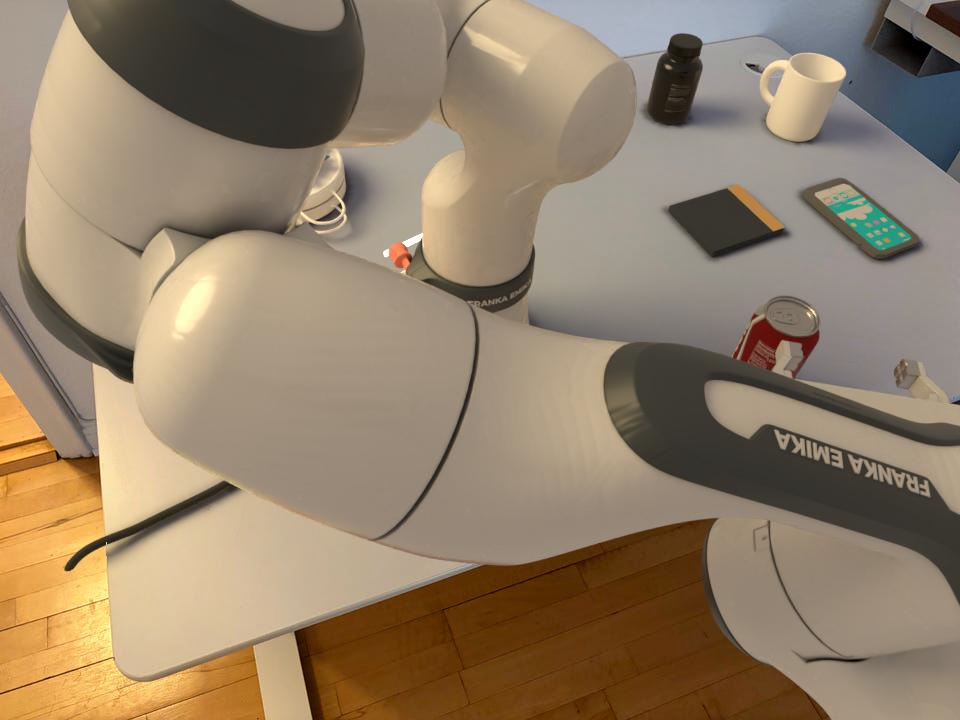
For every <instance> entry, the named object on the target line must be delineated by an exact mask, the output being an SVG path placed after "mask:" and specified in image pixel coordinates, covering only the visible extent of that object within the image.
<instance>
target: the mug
mask: <svg viewBox="0 0 960 720" xmlns="http://www.w3.org/2000/svg"><path fill="white" fill-rule="evenodd" d="M776 71H783V75H782V77H781V79H780V82H779V85H778V87H777V89H776V92H775V94H774V95H773V94H772V93H771V91H770V89H769V83H770V78H771V76H772V75H773V74H774V73H775V72H776ZM846 76H847V70H846V68H845V66H843V64H842V63H841V62H839V61H837V60H836V59H835V58H832V57H830V56H828V55H824V54H821V53H817V52H816V53H814V52H801V53H796V54H794V55H792V56H791V57H790V58H789V60H788V59H778V60H775V61H773V62H771V63H770V64H768V65H767V66H766V68H765V69H764V70H763V72H762V73H761V76H760V80H759V93H760V96H761V98H762V100H763V102H765V103H766V104H767V105H768V106H769V110H768V112H767V114H766V118H765V124H766V127H767V128H768V130H769V131H770V132H771V133H772V134H773V135H775V136H776V137H778V138H780V139H782V140H784V141H789V142H795V143H796V142H799V143H801V142H807V141H811V140H812V139H814V138H815V137H816V136H817V135H818V134H819V132H820V130H821V129H822V126H823V124H824V122H825V120H826V118H827V117H828V114H829V111H830V109H831V108H832V105H833V103H834V101H835V99H836V97H837V95H838V93H839V91H840V89H841V87H842V85H843V82H844V80H845V78H846Z"/></svg>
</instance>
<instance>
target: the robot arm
mask: <svg viewBox="0 0 960 720" xmlns="http://www.w3.org/2000/svg"><path fill="white" fill-rule="evenodd" d="M66 2H67V6H68V9H67V12H66V14H65V16H64V19H63V20H62V23H61V25H60V28H59V30H58V33H57V36H56V39H55V42H54V44H53V46H52V49H51V51H50V54H49V57H48V60H47V64H46V67H45V70H44V73H43V77H42V80H41V83H40V86H39V88H38V94H37V97H36V102H35V106H34V110H33V115H32V118H31V124H30V129H29V138H30V139H29V141H30V147H31V151H30V155H29V163H28V171H27V179H26V189H25V190H26V193H25V215H24V217H23V219H22V221H21V223H20V225H19V227H18V232H17V237H16V257H17V270H18V276H19V281H20V285H21V288H22V292H23V295H24V297H25V301H26V303H27V305H28V307H29V309H30V310H31V312H32V314H33V315H34V316H35V318H36V320H37V321H38V322H39V323H40V324H41V325H42V327H43V328H44V329H45V330H46V331H47V332H48V333H49V334H50V335H52V337H54V338H55V339H56V340H57V341H58V342H59V343H61V344H62V345H63V346H65V347H66V348H67V349H69V350H70V351H71V352H73V353H75V354H76V355H78V356H79V357H81V358H83V359H85V360H86V361H88V362H90V363H91V364H94V365H96V366H98V367H101V368H103V369H106V370H108V371H109V372H110V374H112V375H113V376H114V377H116V378H118V379H119V380H120V381H123V382H125V383H128V384H133V388H134V395H135V402H136V404H137V405H136V406H137V408H138V411H139V414H140V416H141V418H142V420H143V422H144V424H145V425H146V427H147V428H148V430H149V431H150V433H151V434H152V435H153V436H154V437H155V438H156V439H157V440H158V441H159V442H160V443H161V444H162V445H163V446H164V447H166V448H167V449H168V450H170V451H172V452H173V453H175V454H176V455H178V456H180V457H181V458H183V459H185V460H187V461H189V462H190V463H192V464H193V465H195V466H197V467H198V468H201V470H204V471H206V472H207V473H209V474H211V475H213V476H215V477H217V478H218V479H221V480H222V481H220V482H218V483H217V484H215V485H213V486H211V487H209V488H206V489H204V490H203V491H201V492H199V493H197V494H195V495H193V496H191V497H188V498H187V499H185V500H183V501H181V502H179V503H176V504H174V505H172V506H170V507H168V508H166V509H164V510H161V511H160V512H158V513H156V514H153V515H152V516H149V517H147V518H146V519H144V520H141V521H139V522H137V523H134V524H133V525H131V526H128V527H126V528H123V529H121V530H118V531H115V532H112V533H110V534H107V535H104V536H102V537H100V538H98V539H95V540H94V541H91V542H89V543H88V544H86V545H84V546H83V547H82V548H81V549H79V550H77V551H76V552H75V553H74V554H73V555H72V556H71V557H70V558H69V560H68V561H67V562H66V563H65V565H64V567H63V570H64V572H71V571H73V570H74V569H75V568H76V567H77V566H78V564H79V563H80V562H81V561H82V560H83V559H85V557H87V556H89V555H90V554H92V553H93V552H95V551H97V550H99V549H101V548H103V547H105V546H108V545H111V544H113V543H116V542H119V541H121V540H123V539H126V538H129V537H131V536H134V535H136V534H138V533H140V532H142V531H144V530H146V529H148V528H150V527H152V526H155V525H157V524H158V523H160V522H162V521H165V520H166V519H168V518H170V517H173V516H174V515H177V514H179V513H181V512H183V511H185V510H187V509H190V508H191V507H193V506H196V505H197V504H199V503H201V502H203V501H206V500H208V499H209V498H212V497H214V496H215V495H217V494H219V493H221V492H222V491H225V490H227V488H229V487H232V486H234V487H237V488H239V489H241V490H242V491H244V492H245V493H248V494H250V495H252V496H255V497H256V498H259V499H260V500H263V501H265V502H268V503H269V504H272V505H274V506H276V507H279V508H281V509H283V510H285V511H287V512H290V513H291V514H295V515H297V516H299V517H302V518H304V519H306V520H310V521H312V522H313V523H317V524H320V525H322V526H323V527H324V526H325V527H327V528H331V529H333V530H336V531H339V532H340V533H341V532H342V533H345V534H348V535H351V536H354V537H356V538H359V539H362V540H366V541H369V542H372V543H375V544H378V545H381V546H383V547H387V548H391V549H394V550H397V551H401V552H403V553H407V554H411V555H414V556H417V557H418V556H419V557H421V558H422V557H423V558H427V559H433V560H437V561H445V562H453V563H454V562H455V563H464V564H476V565H485V566H486V565H488V566H502V567H503V566H505V567H506V566H508V567H509V566H519V565H525V564H529V563H534V562H538V561H542V560H546V559H549V558H554V557H557V556H560V555H563V554H567V553H570V552H573V551H576V550H581V549H583V548H587V547H590V546H593V545H597V544H599V543H603V542H607V541H611V540H615V539H617V538H621V537H625V536H628V535H632V534H636V533H640V532H643V531H648V530H653V529H656V528H660V527H665V526H670V525H675V524H681V523H687V522H693V521H701V520H709V519H714V520H713V521H712V523H711V524H710V527H709V529H708V531H707V533H706V535H705V536H706V537H705V538H704V542H703V545H702V552H701V564H700V566H701V581H702V586H703V591H704V595H705V599H706V603H707V606H708V609H709V611H710V613H711V615H712V618H713V620H714V622H715V624H716V625H717V627H718V628H719V629H720V631H721V632H722V634H723V635H724V636H725V637H726V638H727V639H728V640H729V641H730V643H731V644H733V645H734V646H735V647H736V648H737V649H738V650H740V651H741V652H742V653H744V654H745V655H746V656H747V657H749V658H751V659H752V660H754V661H756V662H757V663H759V664H761V665H765V666H768V667H771V668H775V669H776V670H778V671H779V672H780V673H782V674H783V675H784V676H785V677H787V678H788V679H789V680H791V681H792V682H793V683H795V684H796V685H797V686H798V687H799V688H800V689H802V690H803V691H804V692H805V693H806V694H807V695H809V697H811V698H812V699H813V700H814V701H815V702H816V703H817V704H818V705H819V706H820V707H821V708H822V709H823V711H824V712H825V713H826V714H827V715H828V717H829V718H830V720H960V404H956V403H951V401H950V397H949V395H948V394H947V393H946V392H945V391H944V390H943V389H942V388H941V387H940V386H939V385H938V384H937V383H936V382H935V381H933V380H932V378H930V377H929V376H928V374H927V371H926V367H925V364H924V362H923V361H918V360H912V359H905V358H902V359H901V360H900V361H899V364H896V366H895V367H894V369H893V376H894V378H895V379H896V380H895V385H896V388H898V389H904V390H907V391H908V393H909V394H910V395H911V396H912V397H911V396H905V395H899V394H892V393H886V392H879V391H874V390H868V389H867V390H866V389H863V388H862V389H861V388H856V387H855V388H854V387H849V386H842V385H836V384H831V383H824V382H817V381H811V380H805V379H799V378H794V379H792V372H791V371H795V370H796V369H797V367H798V364H799V363H800V362H801V361H802V359H803V351H802V350H801V348H802V344H801V343H796V342H791V341H784V340H782V341H781V342H780V344H779V346H778V348H777V350H776V354H775V356H776V365H775V366H774V368H773V369H772V371H770V370H767V369H764V368H761V367H758V366H755V365H752V364H749V363H746V362H743V361H740V360H737V359H734V358H731V356H728V355H725V354H721V353H719V352H715V351H711V350H707V349H704V348H701V347H696V346H692V345H687V344H680V343H671V342H653V341H635V342H634V341H633V342H628V341H619V340H618V341H617V340H608V339H598V338H592V337H591V338H590V337H584V336H579V335H574V334H567V333H564V332H558V331H554V330H551V329H550V330H549V329H546V328H542V327H538V326H534V325H531V324H530V319H529V308H528V306H529V304H528V297H529V296H528V295H529V294H528V292H529V290H530V288H531V286H532V283H533V277H534V272H535V271H534V270H535V261H536V247H535V244H534V240H535V234H536V229H537V223H538V220H539V214H540V210H541V206H542V203H543V201H544V199H545V198H546V196H547V194H548V193H549V192H550V191H551V190H553V189H554V188H556V187H557V186H561V185H564V184H573V183H577V182H580V181H582V180H585V179H587V178H589V177H591V176H593V175H595V174H596V173H598V172H599V171H601V170H602V169H603V168H605V167H606V166H607V165H609V163H610V162H611V161H613V159H615V157H616V156H617V155H618V154H619V153H620V151H621V149H622V148H623V146H624V145H625V144H626V141H627V140H628V138H629V135H630V134H631V131H632V129H633V126H634V122H635V117H636V113H637V106H638V105H637V104H638V91H637V82H636V78H635V73H634V70H633V68H632V67H631V65H630V64H629V63H628V62H627V61H625V60H624V59H623V58H622V57H620V56H619V55H618V54H617V53H616V52H615V51H613V49H611V48H610V47H609V46H608V45H607V44H605V43H604V42H603V41H601V40H600V39H599V38H597V37H596V36H595V35H593V34H592V32H590V31H588V30H587V29H586V28H585V27H582V26H579V24H575V23H573V22H571V21H569V20H566V19H565V18H563V17H560V16H558V15H556V14H554V13H552V12H550V11H547V10H545V9H544V8H541V7H539V6H537V5H534V4H532V3H530V2H527V1H525V0H66ZM428 120H429V121H432V122H434V123H436V124H440V125H441V126H444V127H445V128H448V129H449V130H451V131H453V132H455V133H457V134H458V135H459V137H460V139H461V141H462V144H463V147H464V148H462V149H459V150H455V151H453V152H451V153H449V154H446V156H444V157H442V158H441V159H439V160H438V162H436V163H435V165H434V166H433V167H432V168H431V170H430V171H429V173H428V174H427V176H426V178H425V180H424V182H423V184H422V187H421V233H420V234H418V235H415V236H414V237H412V238H409V239H407V240H405V241H403V242H396V243H393V244H391V246H390V247H389V248H388V249H386V250H384V251H383V256H384V257H385V258H387V257H388V256H389V258H390V259H391V260H392V262H393V265H394V267H396V268H398V269H404V270H402V271H401V272H400V271H398V270H396V269H393V268H390V267H388V266H386V265H382V264H379V263H377V262H373V261H370V260H367V259H365V258H363V257H359V256H356V255H354V254H351V253H346V252H344V251H340V250H337V249H335V248H334V247H332V246H331V245H330V244H329V243H328V242H327V241H326V240H325V239H324V238H323V237H321V234H318V233H317V232H316V231H317V230H316V229H314V228H313V226H312V225H311V224H310V222H309V223H308V222H306V221H305V222H303V223H302V224H301V225H297V226H296V222H297V219H298V217H299V215H300V213H301V211H302V209H303V208H304V206H305V203H306V201H307V199H308V197H309V195H310V193H311V191H312V188H313V186H314V184H315V182H316V180H317V177H318V175H319V172H320V170H321V167H322V165H323V162H324V160H325V158H326V155H327V153H328V150H329V149H335V148H337V149H352V148H353V149H355V148H371V147H373V148H374V147H388V146H394V145H397V144H401V143H403V142H405V141H407V140H408V139H410V138H412V137H413V136H414V135H415V134H416V133H417V132H418V131H420V129H421V128H422V127H423V126H424V125H425V123H426V122H427V121H428ZM315 230H316V231H315ZM415 243H417V245H416V248H415V250H414V252H413V254H411V253H410V252H409V250H408V247H410V246H412V245H414V244H415ZM789 370H790V371H789ZM106 542H107V545H106Z"/></svg>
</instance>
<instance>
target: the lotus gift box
mask: <svg viewBox="0 0 960 720" xmlns="http://www.w3.org/2000/svg"><path fill="white" fill-rule="evenodd" d="M345 173H346V172H345V166H344V159H343V156H342V153H341V152H340V149H339V148H335V149H329V150H328V153H327V155H326V158H325V160H324V162H323V165H322V167H321V170H320V172H319V175H318V177H317V180H316V182H315V184H314V186H313V188H312V191H311V193H310V195H309V197H308V199H307V201H306V203H305V206H304V208H303V209H302V211H301V213H300V215H299V217H298V219H297V222H296V226H295V227H298V226H299V225H301V224H302V223H303V222H305V221H306V222H308V223H309V224H310V223H311V224H314V225H318V226H327V225H332V224H335V223H336V222H338V221H340V220H341V219H342V218H343V221H342V222H341V223H340V224H339V225H338V226H336V227H334V228H331V229H326V230H317V229H314V230H315V231H316V232H317V233H318V234H319V235H325V234H331V233H334V232H337V231H338V230H340V229H342V228H343V227H345V225H346V224H347V221H348V216H347V214H346V211H347V208H346V204H345V202H344V200H343V199H344V197H345V194H346V191H347V183H346V175H345ZM340 204H341V207H342V208H341V207H339V205H340ZM335 209H336V210H337V211H338V212H340V214H339V215H338V216H337V217H336V218H334V219H332V220H327V221H317V220H320V219H321V218H323V217H325V216H327V215H329V214H330V213H332V211H334V210H335Z"/></svg>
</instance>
